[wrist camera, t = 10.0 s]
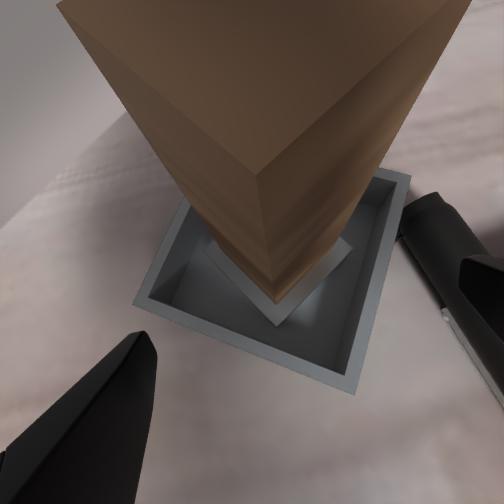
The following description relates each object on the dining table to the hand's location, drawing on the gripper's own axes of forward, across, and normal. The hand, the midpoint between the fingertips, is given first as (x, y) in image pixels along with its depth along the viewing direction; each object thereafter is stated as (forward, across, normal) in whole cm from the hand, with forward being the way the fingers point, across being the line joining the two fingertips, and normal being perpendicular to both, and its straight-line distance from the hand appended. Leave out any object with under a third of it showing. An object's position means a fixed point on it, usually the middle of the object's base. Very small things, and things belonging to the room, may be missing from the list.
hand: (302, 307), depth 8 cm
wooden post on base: (+9, 0, +3) cm, 9 cm away
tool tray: (+9, 0, +3) cm, 10 cm away
